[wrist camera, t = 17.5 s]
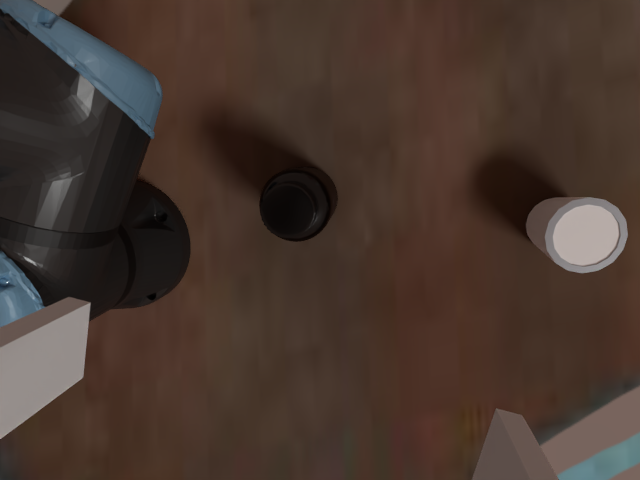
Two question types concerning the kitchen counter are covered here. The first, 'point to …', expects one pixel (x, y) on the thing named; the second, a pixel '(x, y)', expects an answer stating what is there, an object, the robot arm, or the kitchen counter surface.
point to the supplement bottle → (298, 203)
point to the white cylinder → (578, 232)
